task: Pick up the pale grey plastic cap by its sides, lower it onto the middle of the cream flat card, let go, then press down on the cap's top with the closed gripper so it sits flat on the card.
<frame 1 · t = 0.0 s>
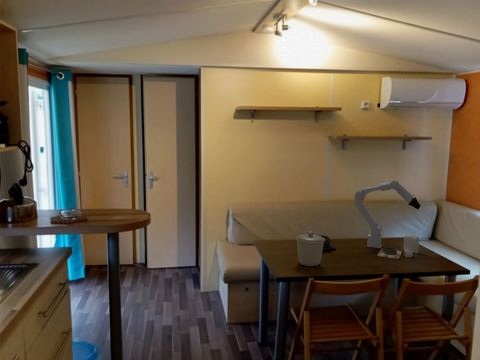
hand: (419, 207, 290), 32 cm above the table, tool tilted 50°, fingers open, 7 cm apart
canister: (309, 264, 262), on the table
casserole: (318, 249, 297), on the table
lens cap: (408, 256, 284), on the table
photo printer: (410, 251, 295), on the table
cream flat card: (389, 254, 288), on the table
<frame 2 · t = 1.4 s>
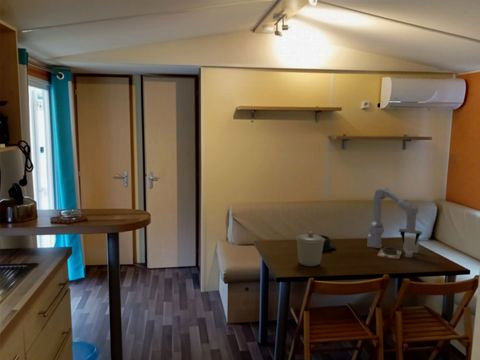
hand: (409, 243, 283), 9 cm above the table, tool pointing down, fingers open, 7 cm apart
nothing on the table moved.
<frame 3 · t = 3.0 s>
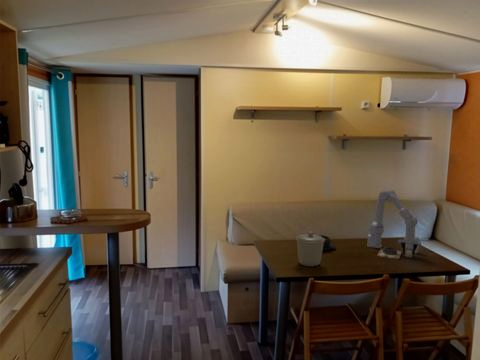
hand: (408, 254, 284), 1 cm above the table, tool pointing down, fingers closed on lens cap, 5 cm apart
lens cap: (408, 256, 284), on the table, touching gripper
everything else where it was.
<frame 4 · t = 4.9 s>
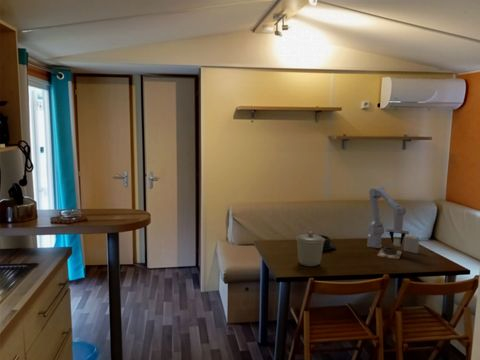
hand: (396, 243, 285), 8 cm above the table, tool pointing down, fingers closed on lens cap, 5 cm apart
lens cap: (396, 245, 286), point 7 cm above the table, touching gripper
everything else where it was.
when the fingers open (5 cm above the table, at t = 6.7 s): lens cap drops 2 cm, resting on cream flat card.
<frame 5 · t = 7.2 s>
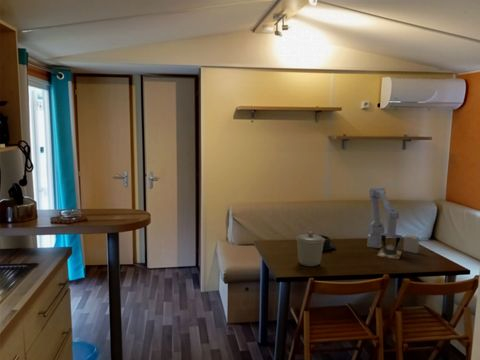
hand: (390, 247, 287), 5 cm above the table, tool pointing down, fingers open, 7 cm apart
lens cap: (389, 252, 287), point 1 cm above the table, touching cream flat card
everything else where it was.
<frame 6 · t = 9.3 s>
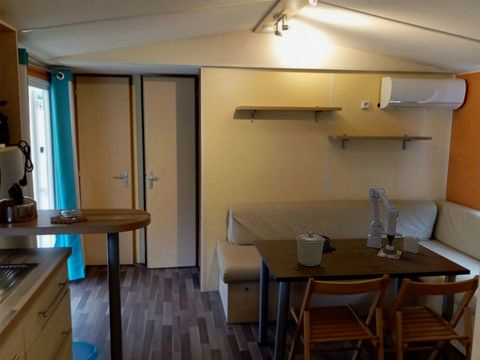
hand: (390, 245, 287), 6 cm above the table, tool pointing down, fingers closed, pressing on lens cap
lens cap: (389, 252, 287), point 1 cm above the table, touching gripper, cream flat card
everything else where it was.
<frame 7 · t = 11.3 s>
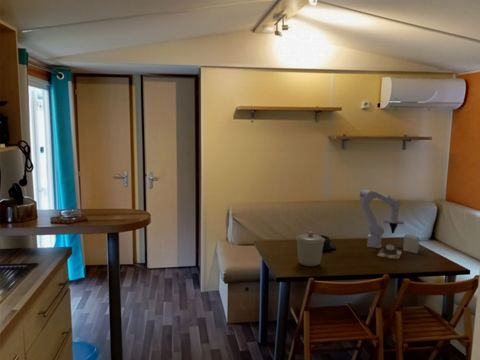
hand: (392, 233, 309), 9 cm above the table, tool pointing down, fingers closed
lens cap: (389, 252, 287), point 1 cm above the table, touching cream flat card
everything else where it was.
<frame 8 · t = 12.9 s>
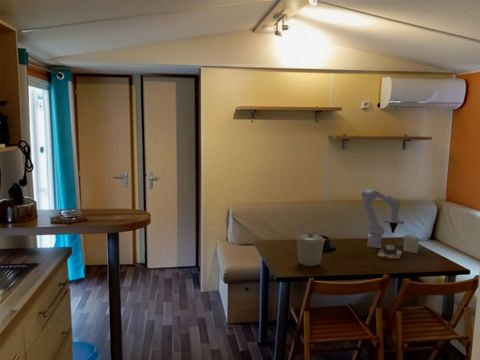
hand: (392, 232, 311), 9 cm above the table, tool pointing down, fingers closed
nothing on the table moved.
at the end: lens cap 0.1 cm off-centre on the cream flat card, point 1.0 cm above the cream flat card's base; lens cap tilted 0°; the gripper is holding nothing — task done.
